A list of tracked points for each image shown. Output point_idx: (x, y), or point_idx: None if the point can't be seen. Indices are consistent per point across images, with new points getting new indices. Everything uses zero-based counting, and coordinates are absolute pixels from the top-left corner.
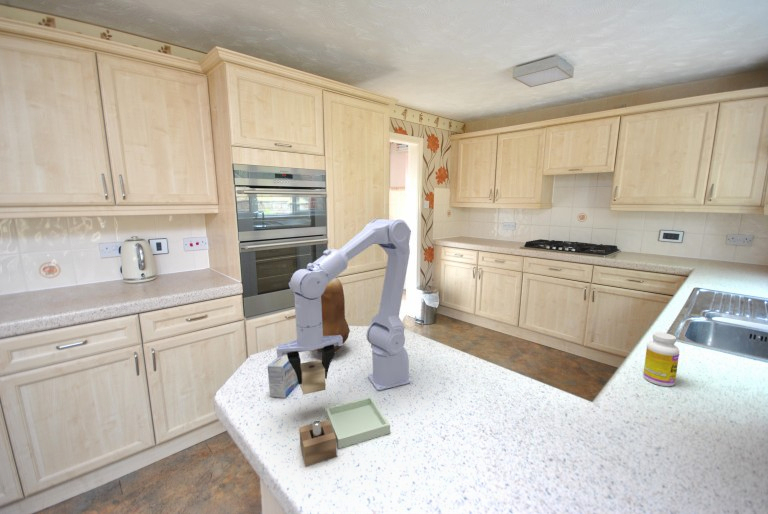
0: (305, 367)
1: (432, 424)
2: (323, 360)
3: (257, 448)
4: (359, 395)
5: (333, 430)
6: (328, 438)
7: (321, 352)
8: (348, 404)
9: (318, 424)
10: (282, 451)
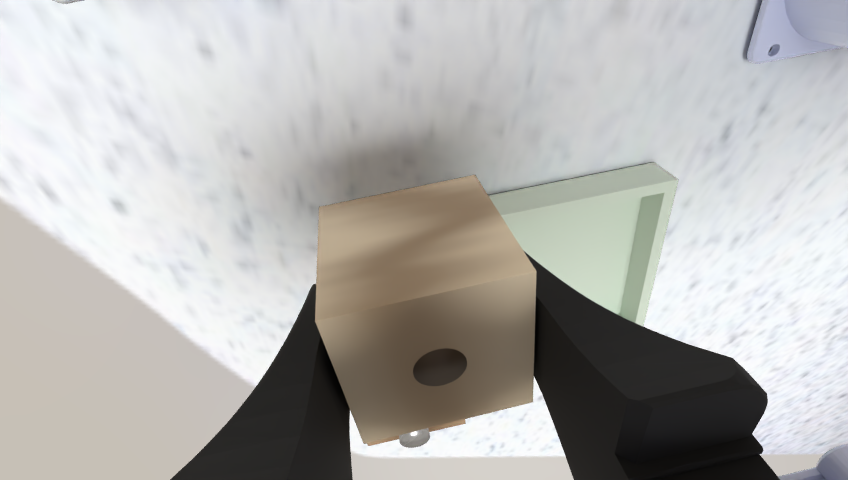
0: (386, 382)
1: (752, 295)
2: (557, 395)
3: (187, 327)
4: (641, 73)
5: None
6: (443, 424)
7: (586, 384)
8: (558, 211)
9: (421, 443)
10: None
